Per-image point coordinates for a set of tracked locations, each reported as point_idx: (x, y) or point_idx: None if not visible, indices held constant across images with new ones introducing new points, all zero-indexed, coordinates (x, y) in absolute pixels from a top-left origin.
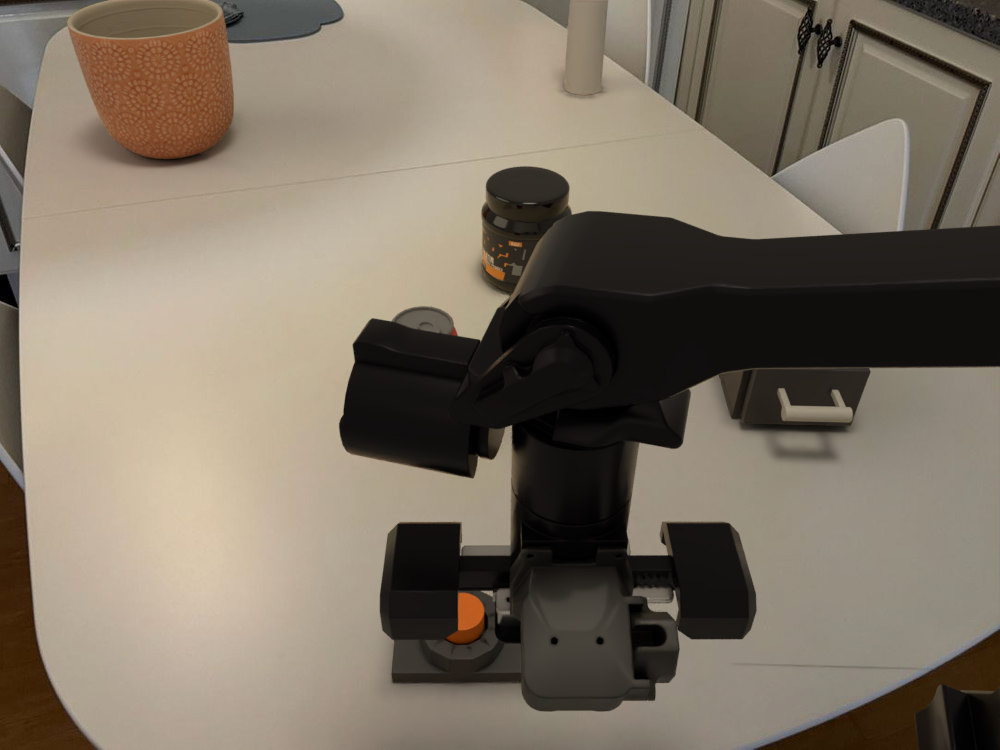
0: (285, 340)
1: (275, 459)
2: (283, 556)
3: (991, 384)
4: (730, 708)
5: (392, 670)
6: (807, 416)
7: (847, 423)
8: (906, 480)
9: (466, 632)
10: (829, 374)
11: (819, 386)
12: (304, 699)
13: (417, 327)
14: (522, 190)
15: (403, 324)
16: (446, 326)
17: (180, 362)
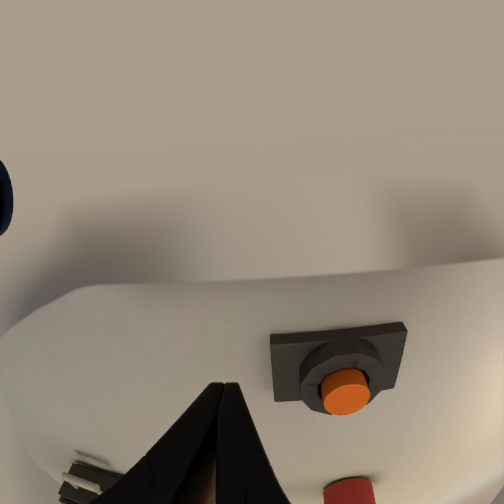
0: (421, 494)
1: (448, 446)
2: (461, 396)
3: (30, 454)
4: (92, 312)
5: (406, 333)
6: (83, 483)
7: (73, 465)
8: (41, 430)
9: (343, 382)
10: (77, 498)
11: (83, 493)
12: (467, 297)
13: None
14: None
15: None
16: None
17: (475, 467)
